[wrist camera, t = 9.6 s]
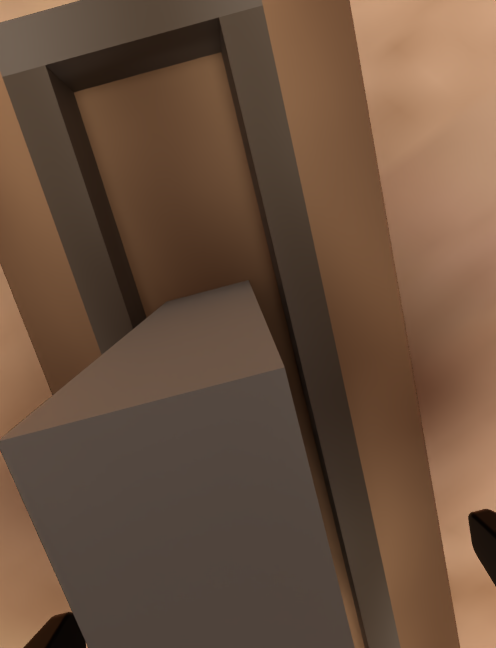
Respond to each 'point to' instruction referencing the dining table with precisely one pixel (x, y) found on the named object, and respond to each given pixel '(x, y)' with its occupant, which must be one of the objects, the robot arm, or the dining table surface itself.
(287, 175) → the track board
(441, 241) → the dining table surface
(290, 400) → the door panel
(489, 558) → the robot arm
